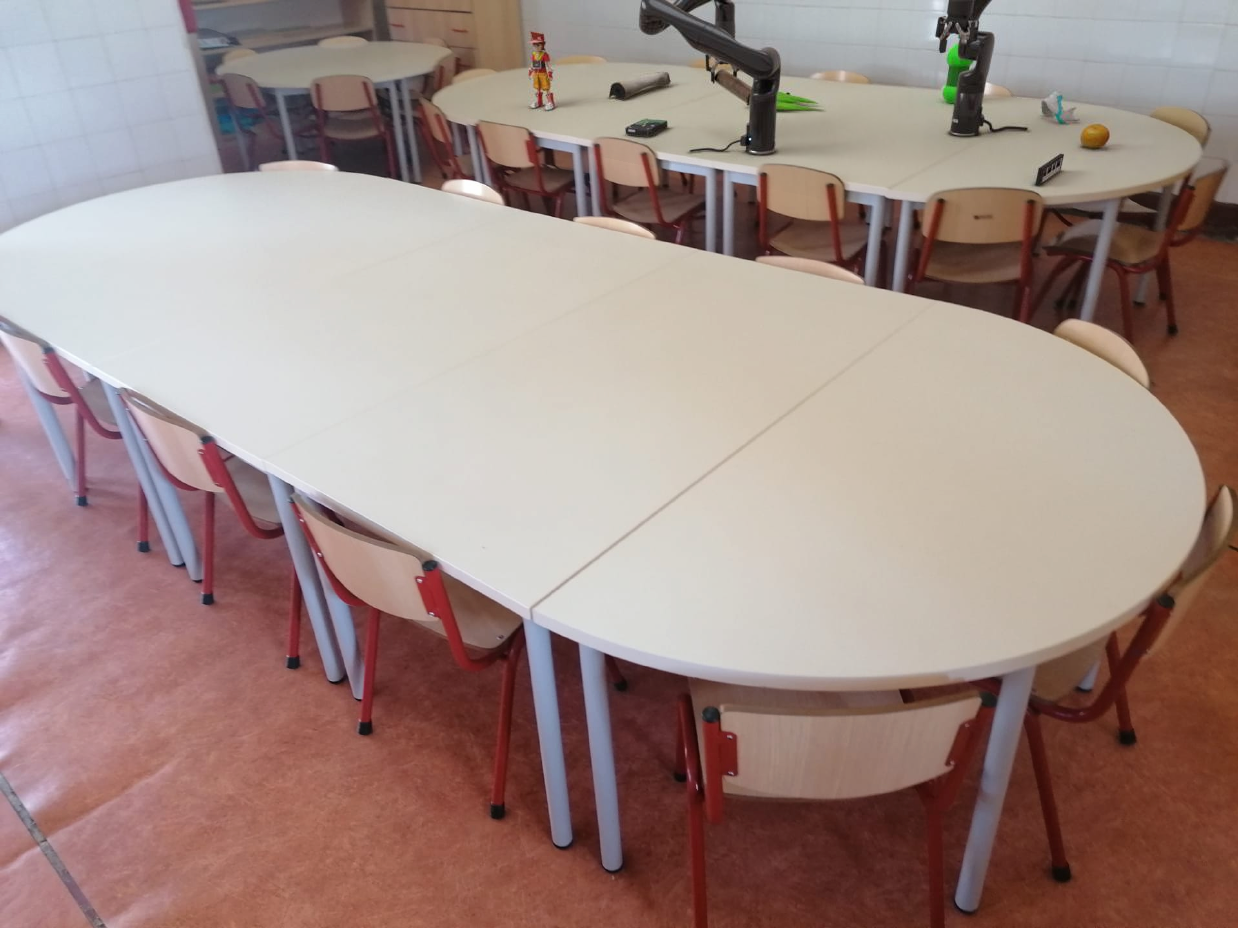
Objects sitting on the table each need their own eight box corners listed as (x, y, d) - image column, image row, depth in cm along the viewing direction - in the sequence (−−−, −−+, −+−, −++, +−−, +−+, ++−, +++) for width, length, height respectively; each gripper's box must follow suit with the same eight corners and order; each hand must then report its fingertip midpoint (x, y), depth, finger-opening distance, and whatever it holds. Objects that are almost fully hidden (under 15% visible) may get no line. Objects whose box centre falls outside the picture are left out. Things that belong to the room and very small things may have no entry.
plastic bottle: (973, 101, 354) (984, 32, 339) (955, 106, 349) (966, 36, 335) (952, 97, 361) (962, 29, 346) (934, 102, 356) (944, 33, 342)
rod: (761, 104, 314) (760, 88, 310) (747, 108, 313) (746, 92, 309) (728, 82, 334) (727, 67, 330) (715, 86, 333) (714, 71, 329)
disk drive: (648, 138, 335) (668, 127, 345) (648, 130, 333) (667, 120, 343) (625, 135, 340) (644, 125, 350) (624, 127, 338) (644, 117, 348)
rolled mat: (651, 76, 408) (662, 61, 399) (662, 93, 408) (674, 79, 400) (605, 92, 391) (616, 77, 383) (617, 110, 391) (628, 95, 383)
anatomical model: (1035, 91, 328) (1062, 83, 328) (1034, 119, 334) (1061, 112, 334) (1054, 100, 316) (1083, 93, 315) (1053, 130, 322) (1081, 122, 321)
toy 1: (525, 109, 381) (517, 32, 364) (534, 104, 388) (527, 28, 371) (550, 110, 377) (543, 32, 360) (559, 105, 384) (553, 28, 367)
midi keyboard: (1039, 185, 269) (1043, 168, 266) (1035, 184, 270) (1038, 168, 267) (1060, 170, 279) (1064, 154, 277) (1056, 169, 280) (1060, 153, 277)
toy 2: (737, 109, 358) (807, 121, 345) (739, 95, 355) (810, 107, 342) (766, 99, 378) (833, 110, 366) (767, 86, 375) (835, 96, 363)
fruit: (1076, 138, 294) (1094, 116, 291) (1073, 141, 302) (1090, 120, 299) (1098, 153, 293) (1116, 131, 290) (1095, 155, 300) (1112, 134, 297)
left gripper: (744, 31, 324) (742, 80, 333) (704, 32, 325) (704, 81, 335) (745, 35, 318) (743, 84, 327) (704, 36, 319) (704, 85, 329)
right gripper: (935, -3, 279) (927, 53, 288) (972, 1, 269) (963, 59, 278) (951, -6, 282) (943, 50, 291) (989, -2, 272) (979, 56, 281)
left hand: (723, 82), depth 331 cm, fingers closed on rod, 7 cm apart
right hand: (953, 54), depth 285 cm, fingers open, 8 cm apart
